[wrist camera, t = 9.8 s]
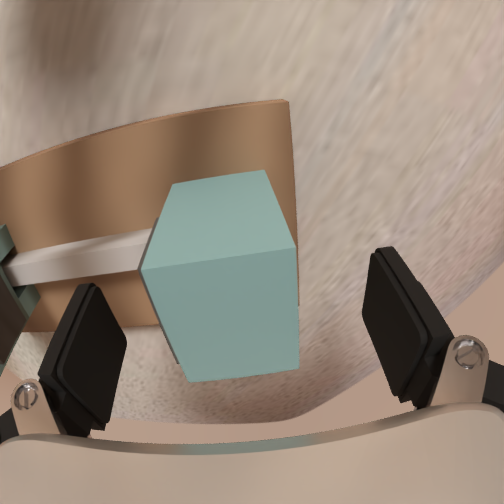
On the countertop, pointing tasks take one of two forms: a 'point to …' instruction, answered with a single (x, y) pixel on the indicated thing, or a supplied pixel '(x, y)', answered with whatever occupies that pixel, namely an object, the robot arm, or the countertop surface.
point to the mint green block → (224, 278)
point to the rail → (120, 206)
